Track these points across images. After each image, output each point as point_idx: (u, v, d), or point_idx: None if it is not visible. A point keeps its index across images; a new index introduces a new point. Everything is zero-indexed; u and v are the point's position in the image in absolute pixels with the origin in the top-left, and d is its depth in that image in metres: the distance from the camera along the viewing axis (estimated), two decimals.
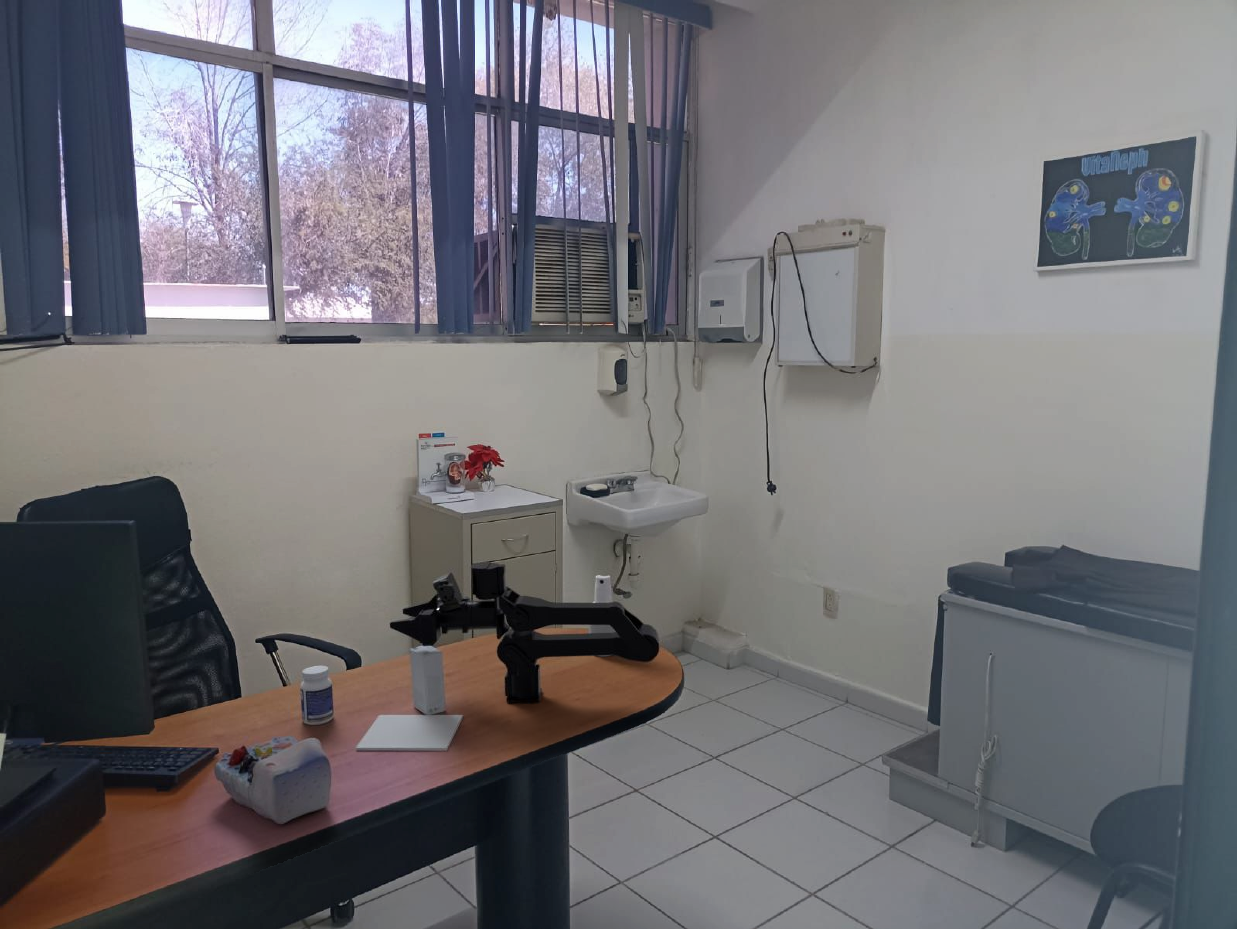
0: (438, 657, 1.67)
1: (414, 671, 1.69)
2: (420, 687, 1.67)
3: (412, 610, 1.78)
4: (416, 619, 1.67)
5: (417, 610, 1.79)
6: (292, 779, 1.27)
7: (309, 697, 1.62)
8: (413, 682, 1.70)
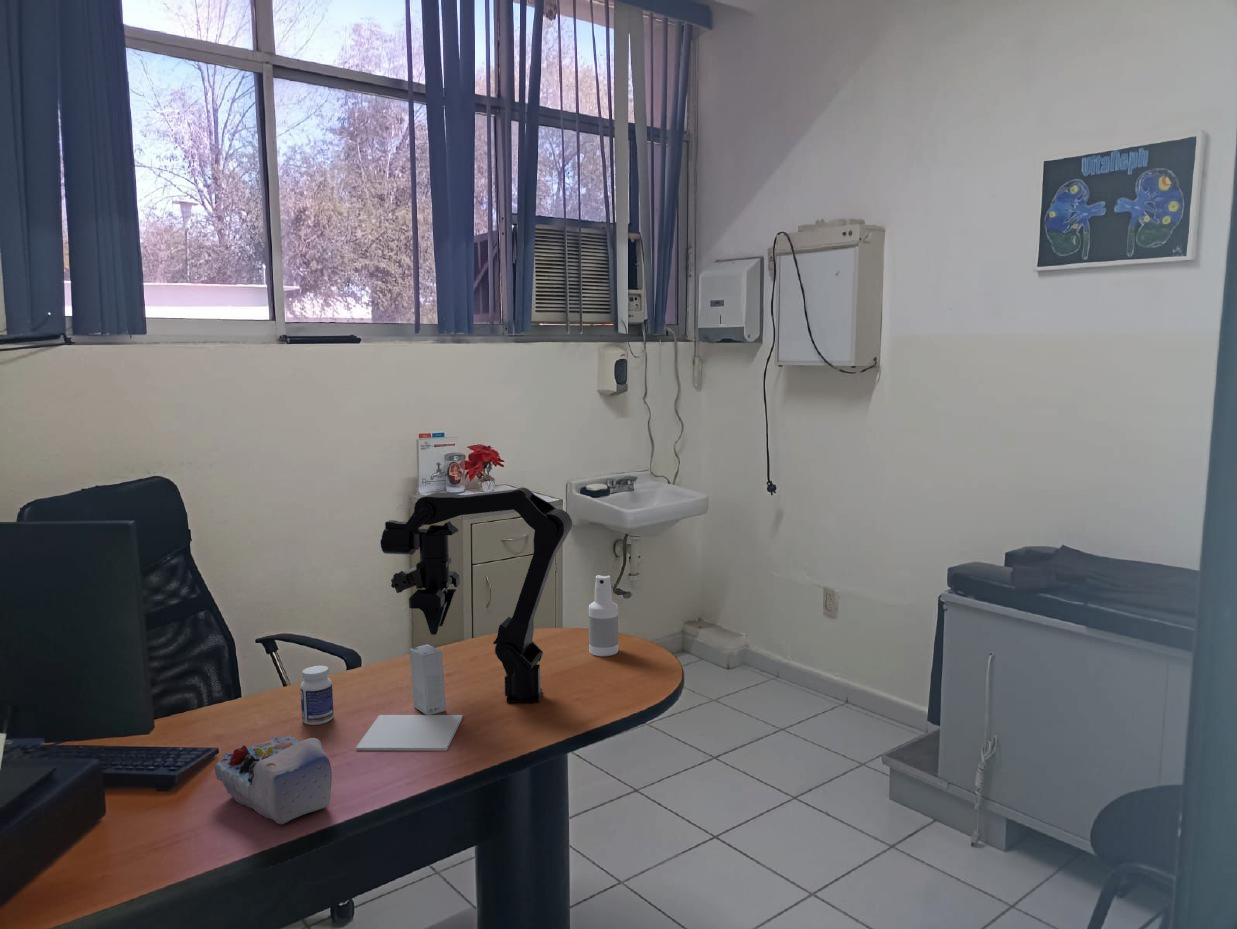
0: (438, 657, 1.67)
1: (414, 671, 1.69)
2: (420, 687, 1.67)
3: None
4: (422, 609, 1.72)
5: None
6: (293, 779, 1.27)
7: (309, 697, 1.62)
8: (413, 682, 1.70)
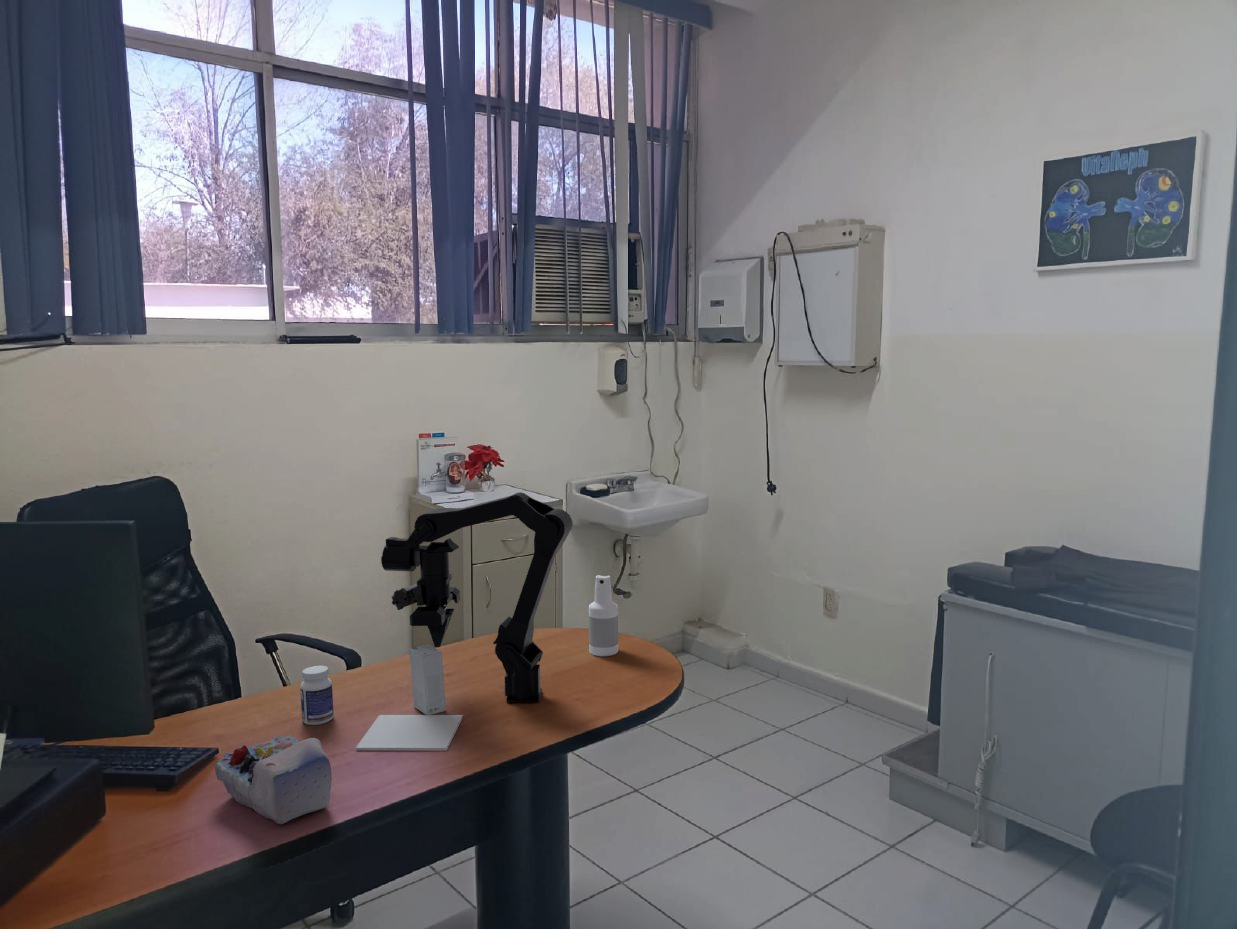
0: (438, 657, 1.67)
1: (414, 671, 1.69)
2: (420, 687, 1.67)
3: None
4: None
5: None
6: (292, 779, 1.26)
7: (309, 697, 1.62)
8: (413, 682, 1.70)
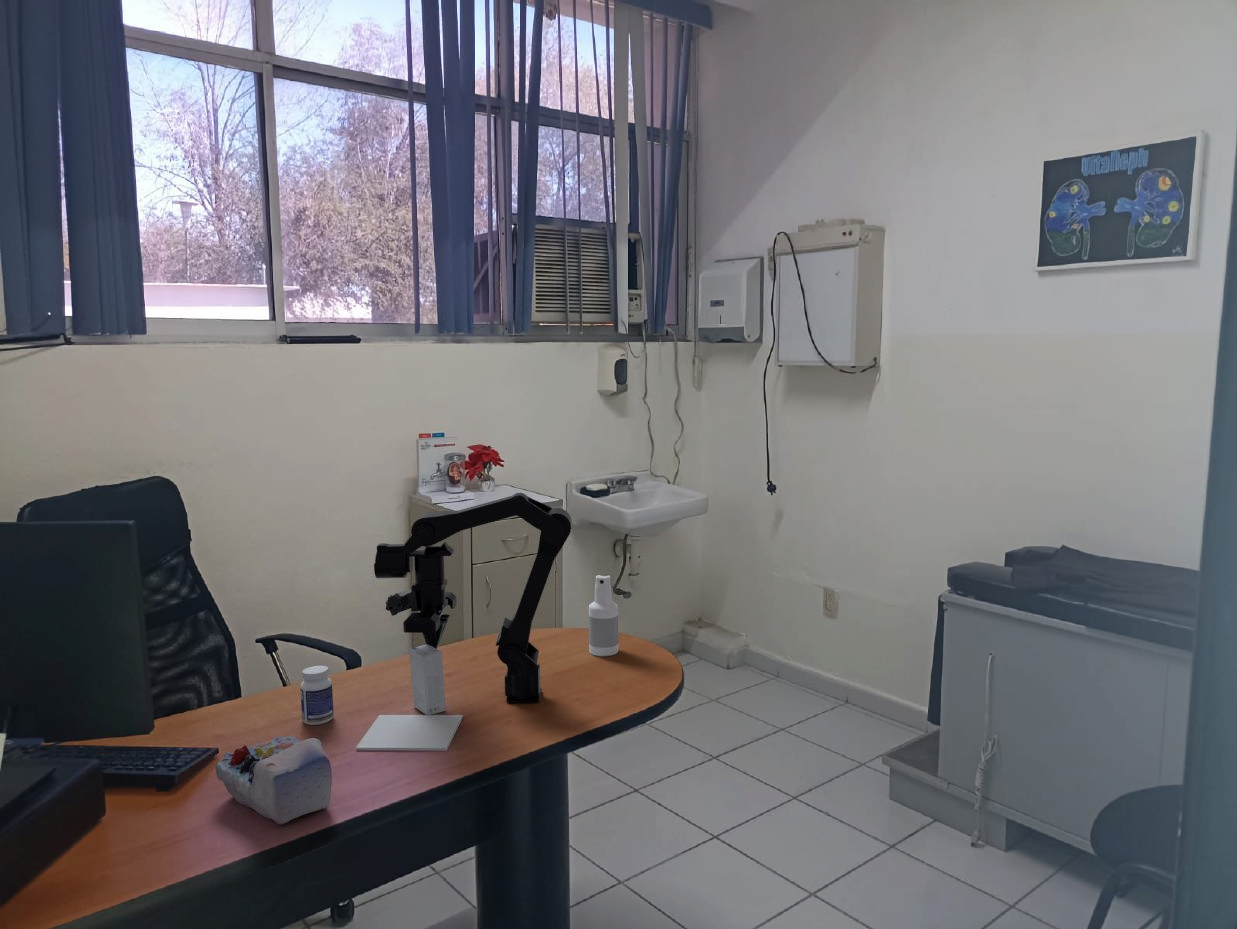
0: (438, 657, 1.67)
1: (414, 671, 1.68)
2: (420, 687, 1.67)
3: None
4: None
5: None
6: (293, 779, 1.26)
7: (309, 697, 1.62)
8: (413, 682, 1.70)
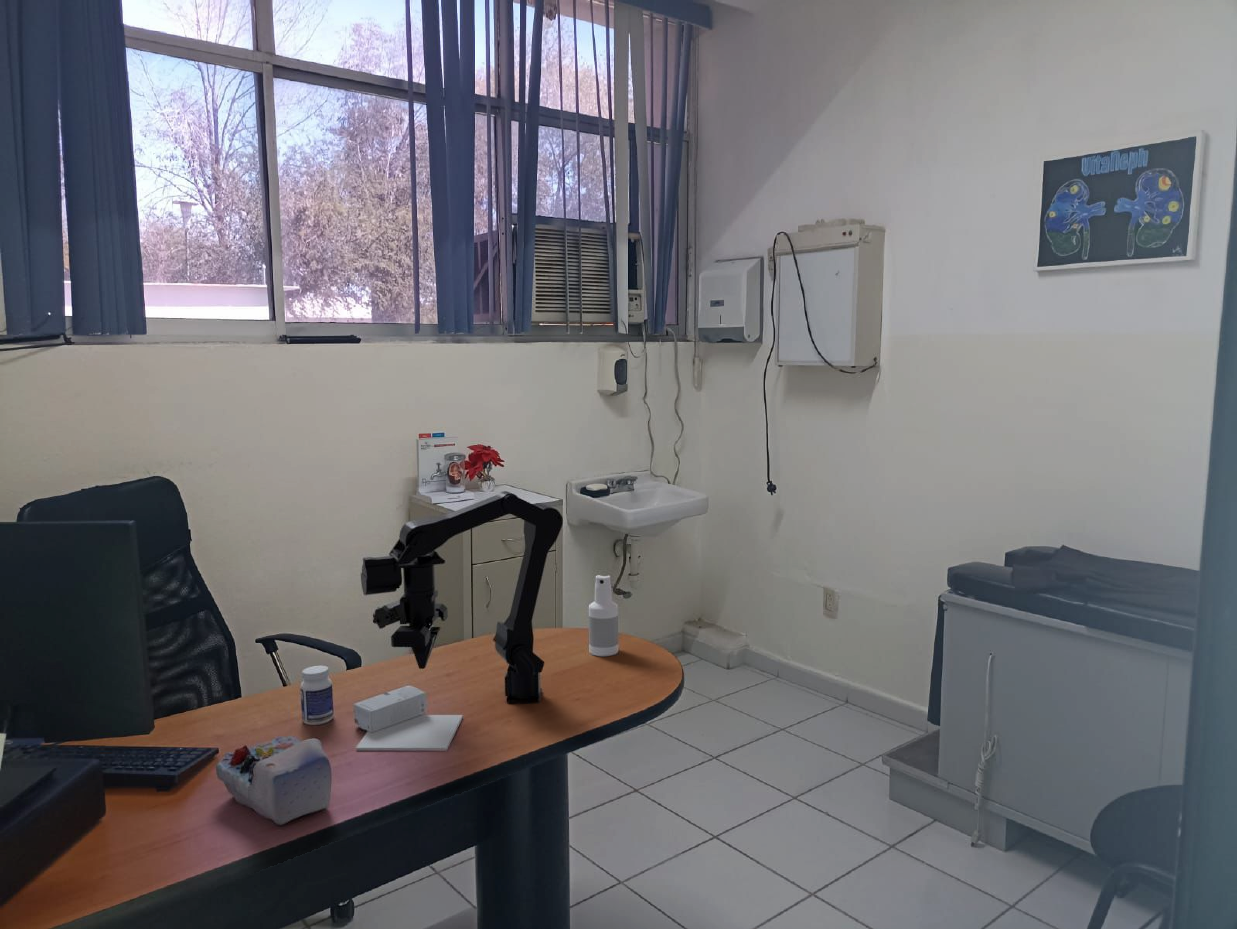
0: (375, 714, 1.58)
1: None
2: None
3: None
4: None
5: None
6: (292, 780, 1.26)
7: (309, 697, 1.62)
8: None
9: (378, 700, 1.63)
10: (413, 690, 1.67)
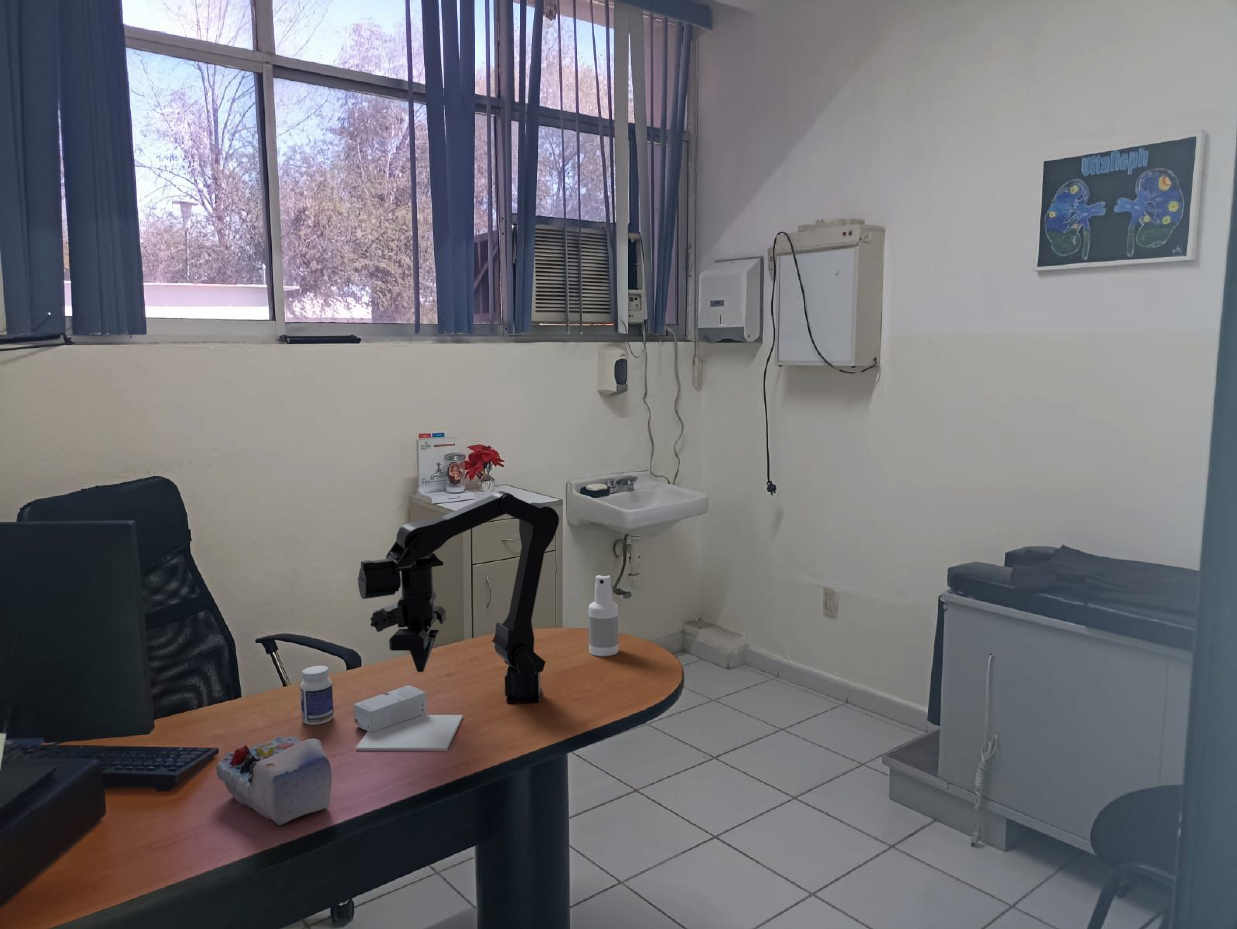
0: (375, 714, 1.58)
1: None
2: None
3: None
4: None
5: None
6: (292, 780, 1.26)
7: (309, 697, 1.62)
8: None
9: (377, 700, 1.63)
10: (413, 690, 1.67)
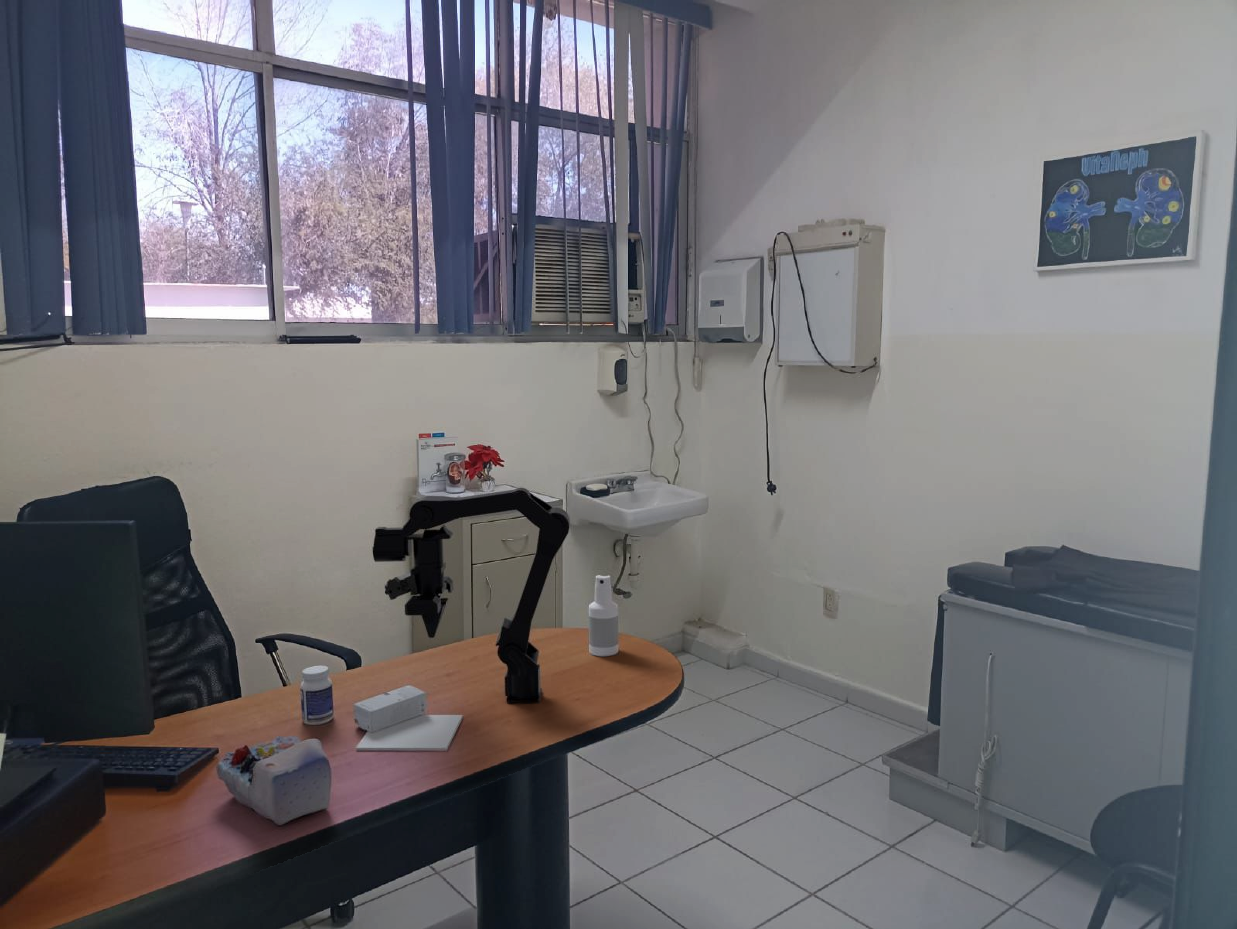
0: (375, 714, 1.58)
1: None
2: None
3: None
4: None
5: None
6: (292, 780, 1.26)
7: (309, 697, 1.62)
8: None
9: (377, 700, 1.63)
10: (413, 690, 1.67)
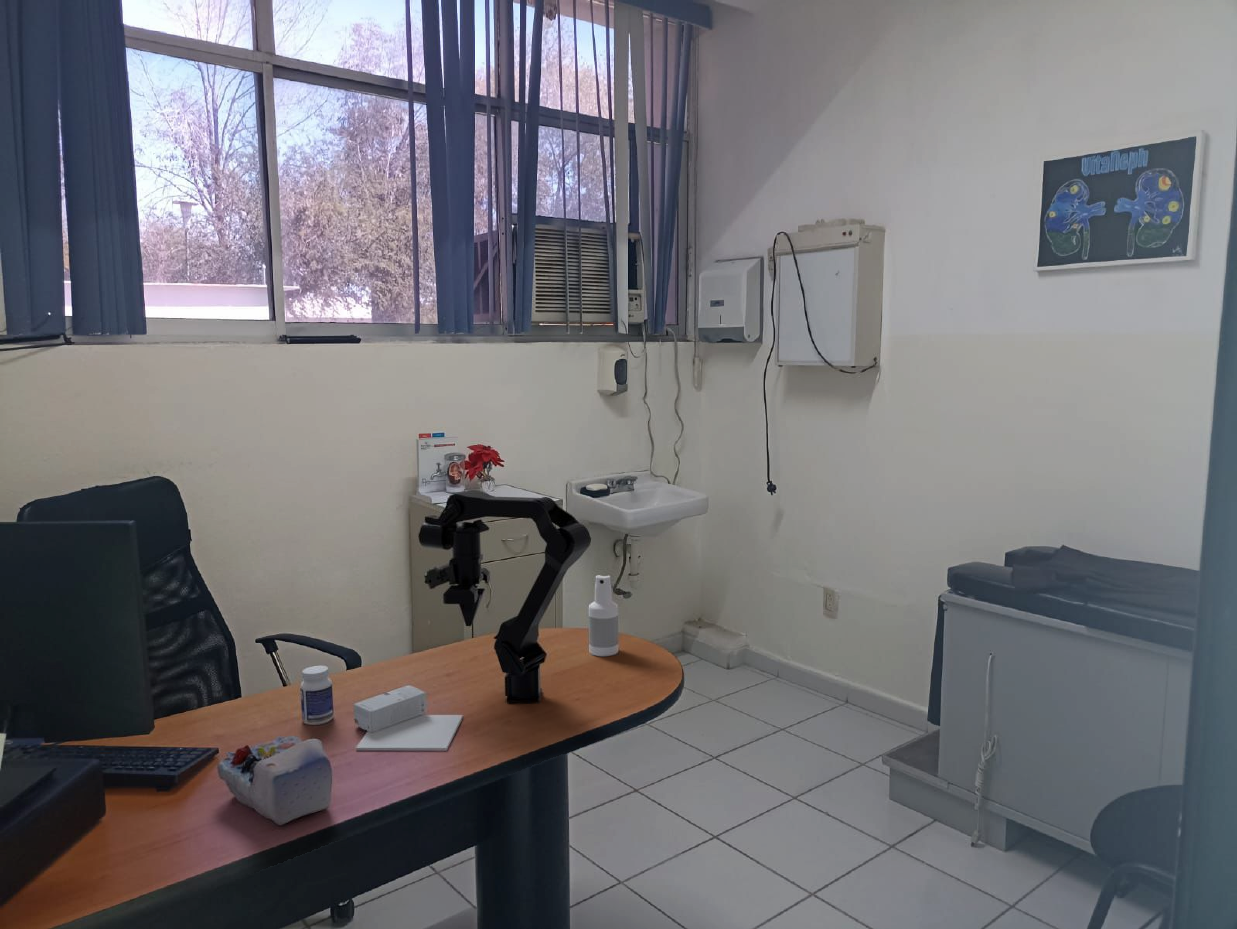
0: (375, 714, 1.58)
1: None
2: None
3: None
4: None
5: None
6: (292, 780, 1.26)
7: (309, 697, 1.62)
8: None
9: (377, 700, 1.63)
10: (413, 690, 1.67)
